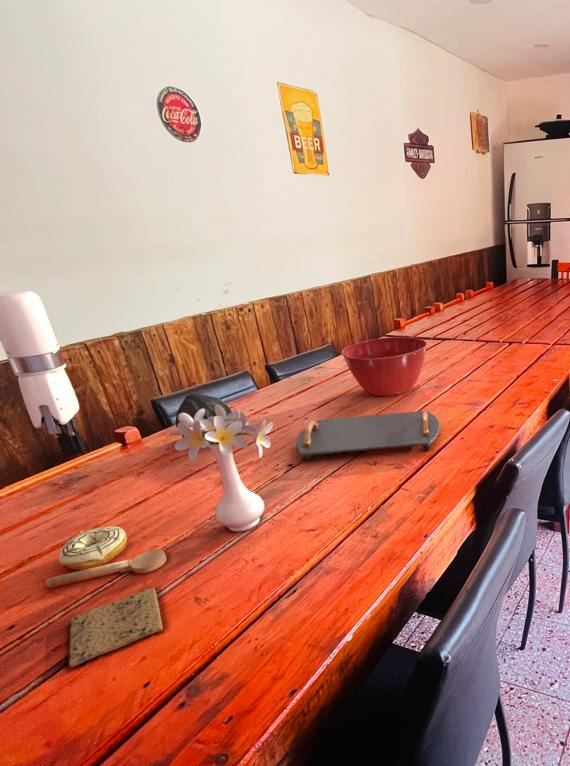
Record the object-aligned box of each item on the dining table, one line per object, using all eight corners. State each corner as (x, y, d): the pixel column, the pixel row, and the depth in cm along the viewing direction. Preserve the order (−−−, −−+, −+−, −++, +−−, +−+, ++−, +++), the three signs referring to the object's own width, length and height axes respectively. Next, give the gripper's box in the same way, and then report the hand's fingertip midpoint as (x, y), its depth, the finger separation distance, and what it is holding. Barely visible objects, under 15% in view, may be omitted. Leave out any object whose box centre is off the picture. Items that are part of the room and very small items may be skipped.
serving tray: (289, 466, 128) (284, 443, 126) (307, 429, 149) (303, 409, 146) (442, 452, 131) (440, 430, 129) (439, 418, 152) (437, 398, 149)
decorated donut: (51, 577, 93) (42, 560, 91) (84, 542, 102) (76, 526, 101) (112, 569, 94) (104, 552, 92) (138, 535, 104) (132, 520, 102)
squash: (237, 405, 155) (190, 377, 145) (248, 421, 144) (197, 392, 134) (208, 442, 154) (158, 416, 144) (216, 462, 143) (163, 435, 133)
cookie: (164, 629, 79) (162, 625, 79) (69, 669, 73) (66, 664, 73) (156, 588, 88) (154, 584, 88) (70, 620, 82) (68, 616, 82)
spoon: (42, 598, 88) (38, 590, 87) (53, 578, 93) (49, 570, 92) (164, 568, 94) (161, 560, 93) (168, 551, 98) (165, 543, 97)
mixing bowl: (333, 391, 179) (325, 348, 172) (400, 372, 195) (395, 332, 189) (377, 411, 159) (370, 363, 153) (447, 387, 176) (444, 343, 170)
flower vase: (287, 534, 101) (258, 418, 91) (190, 546, 99) (147, 429, 88) (298, 500, 113) (273, 394, 102) (211, 510, 111) (176, 403, 100)
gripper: (29, 355, 98) (65, 441, 106) (-6, 376, 85) (38, 473, 93) (75, 350, 100) (107, 435, 108) (48, 370, 88) (86, 465, 95)
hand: (75, 452), depth 101 cm, fingers closed
